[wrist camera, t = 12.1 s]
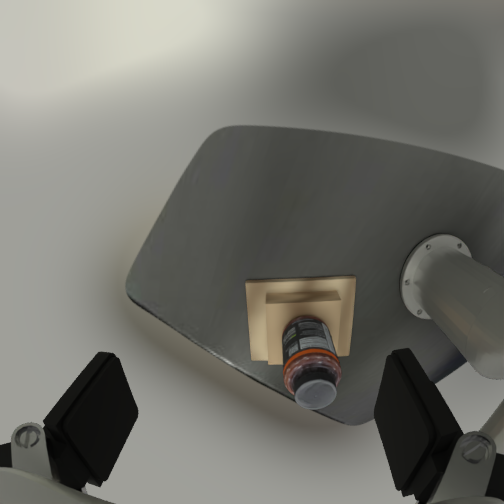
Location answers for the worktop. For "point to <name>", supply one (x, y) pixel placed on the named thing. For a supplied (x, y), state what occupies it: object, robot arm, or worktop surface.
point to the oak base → (297, 286)
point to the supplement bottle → (310, 362)
